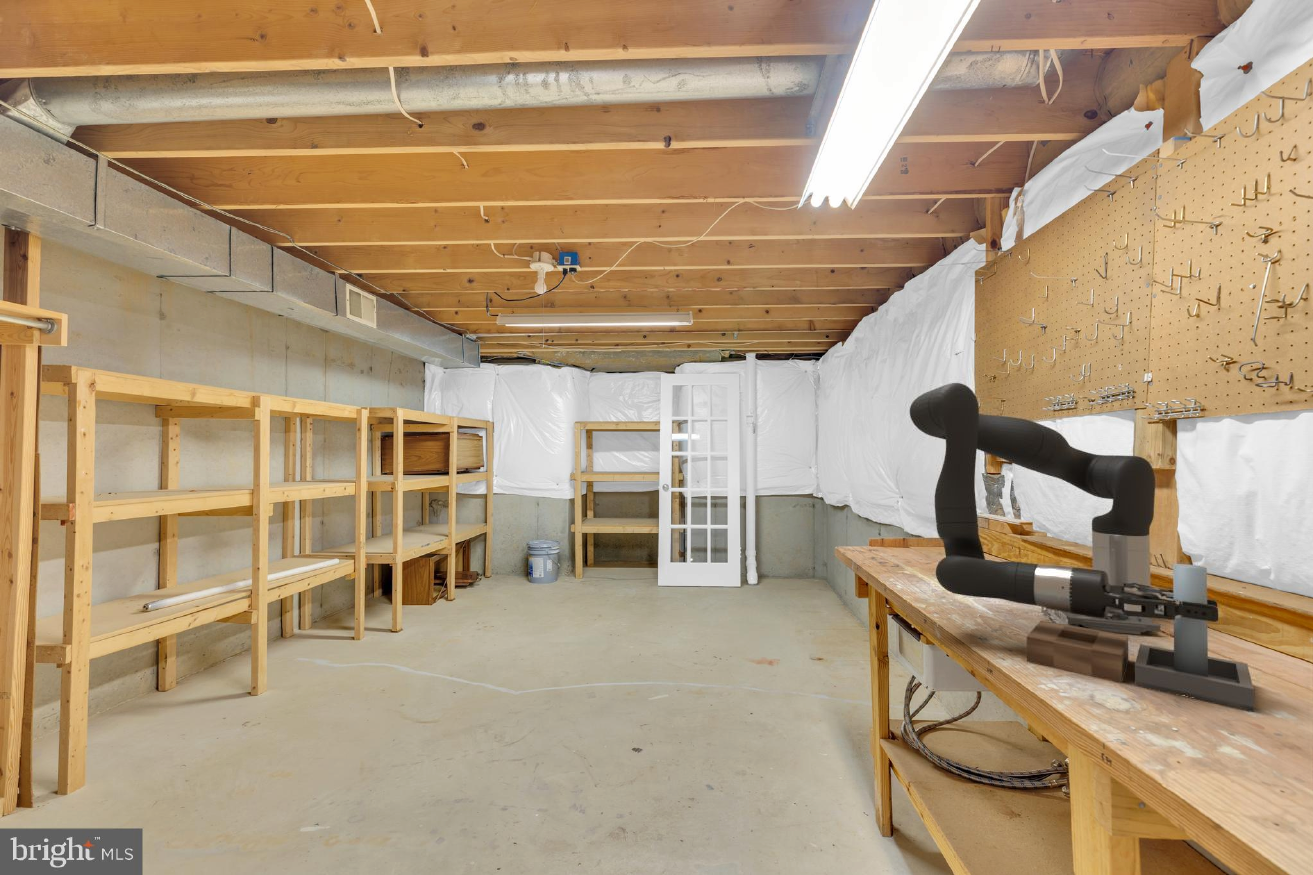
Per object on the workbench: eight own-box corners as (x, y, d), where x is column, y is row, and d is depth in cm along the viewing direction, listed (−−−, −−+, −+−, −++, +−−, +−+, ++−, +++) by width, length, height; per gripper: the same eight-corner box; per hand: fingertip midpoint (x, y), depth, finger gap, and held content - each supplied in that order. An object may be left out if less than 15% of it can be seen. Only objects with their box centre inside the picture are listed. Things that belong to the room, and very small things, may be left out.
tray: (1140, 662, 91) (1140, 643, 91) (1247, 683, 83) (1247, 663, 83) (1135, 685, 82) (1134, 664, 83) (1254, 711, 74) (1253, 689, 74)
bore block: (1041, 642, 100) (1040, 620, 101) (1128, 660, 92) (1128, 635, 92) (1027, 661, 92) (1026, 636, 92) (1122, 682, 84) (1121, 655, 84)
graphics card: (1060, 616, 106) (1040, 599, 117) (1060, 636, 106) (1040, 617, 117) (1171, 627, 100) (1139, 607, 112) (1171, 648, 100) (1139, 626, 112)
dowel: (1174, 668, 85) (1173, 562, 85) (1207, 674, 83) (1206, 566, 83) (1174, 675, 83) (1172, 566, 83) (1208, 682, 80) (1206, 570, 80)
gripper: (1063, 574, 88) (1219, 594, 76) (1076, 560, 98) (1215, 576, 86) (1063, 622, 88) (1219, 650, 76) (1077, 603, 98) (1216, 625, 86)
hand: (1216, 610), depth 81 cm, fingers closed on dowel, 3 cm apart
